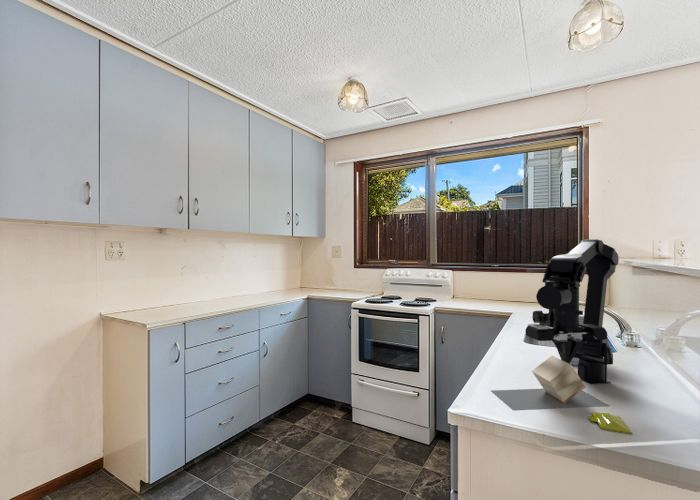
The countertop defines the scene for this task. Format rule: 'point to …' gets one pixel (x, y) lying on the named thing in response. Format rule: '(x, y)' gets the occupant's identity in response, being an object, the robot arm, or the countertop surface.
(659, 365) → the countertop surface
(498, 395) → the charcoal mat
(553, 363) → the birch cube
